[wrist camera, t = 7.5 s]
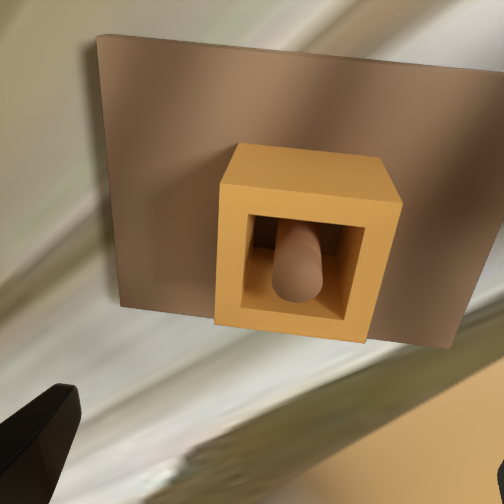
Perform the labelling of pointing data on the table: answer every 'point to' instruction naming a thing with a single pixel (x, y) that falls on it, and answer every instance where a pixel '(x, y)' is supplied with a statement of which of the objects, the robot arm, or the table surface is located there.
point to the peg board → (308, 138)
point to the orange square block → (309, 209)
